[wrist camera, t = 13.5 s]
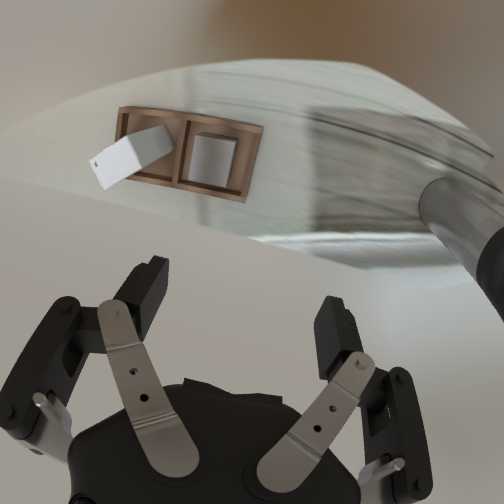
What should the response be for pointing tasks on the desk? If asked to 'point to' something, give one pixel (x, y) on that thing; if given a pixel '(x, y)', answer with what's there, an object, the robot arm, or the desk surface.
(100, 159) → the skincare box
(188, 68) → the desk surface
